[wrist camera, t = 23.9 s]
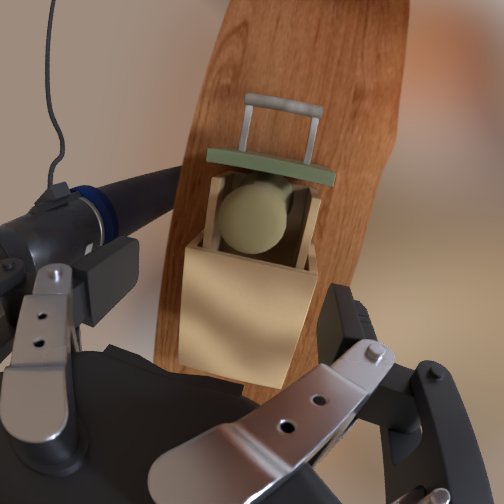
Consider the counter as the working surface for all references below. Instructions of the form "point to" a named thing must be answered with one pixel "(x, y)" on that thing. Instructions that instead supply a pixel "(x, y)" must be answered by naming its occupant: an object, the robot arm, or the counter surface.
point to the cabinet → (242, 313)
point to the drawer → (305, 198)
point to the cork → (256, 212)
